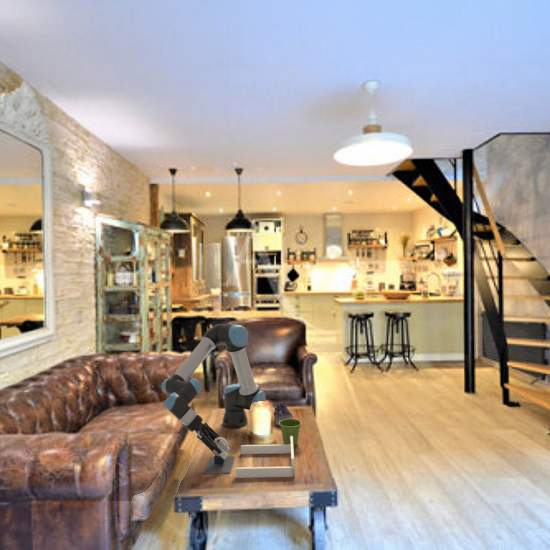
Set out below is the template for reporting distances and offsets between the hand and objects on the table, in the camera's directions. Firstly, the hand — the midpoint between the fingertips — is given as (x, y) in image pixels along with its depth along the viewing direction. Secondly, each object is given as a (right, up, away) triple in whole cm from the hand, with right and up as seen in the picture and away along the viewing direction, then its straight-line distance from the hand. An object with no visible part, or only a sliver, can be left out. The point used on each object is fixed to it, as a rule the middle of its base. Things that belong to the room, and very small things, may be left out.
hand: (227, 454), depth 190 cm
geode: (+27, -5, +55) cm, 61 cm away
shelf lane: (+18, -5, 0) cm, 19 cm away
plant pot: (+31, -4, +21) cm, 38 cm away
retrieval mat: (-3, -5, 0) cm, 6 cm away
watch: (-4, -4, 0) cm, 5 cm away
